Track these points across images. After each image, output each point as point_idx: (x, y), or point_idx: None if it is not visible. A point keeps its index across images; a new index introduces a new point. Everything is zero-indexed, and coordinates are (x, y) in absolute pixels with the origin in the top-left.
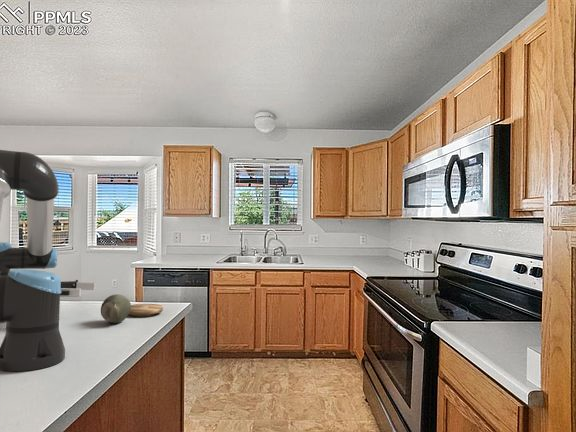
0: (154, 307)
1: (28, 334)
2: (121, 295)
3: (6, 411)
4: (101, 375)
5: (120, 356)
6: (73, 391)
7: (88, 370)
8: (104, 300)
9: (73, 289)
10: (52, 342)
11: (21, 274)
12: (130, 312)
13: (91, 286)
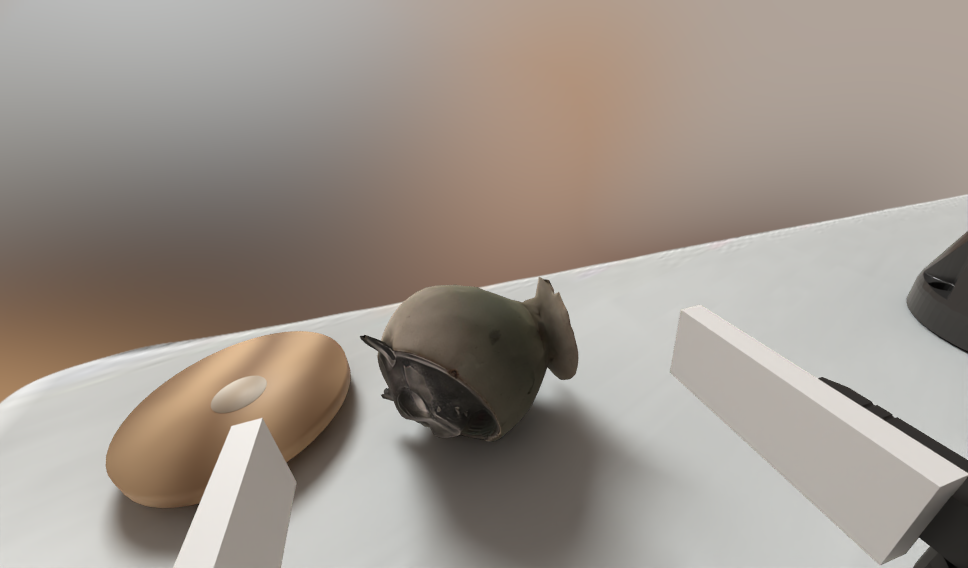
0: (253, 358)
1: None
2: (436, 286)
3: None
4: (846, 222)
5: (750, 244)
6: (929, 213)
7: (864, 239)
8: (495, 348)
9: (755, 344)
10: None
11: None
12: (335, 404)
13: (274, 487)
